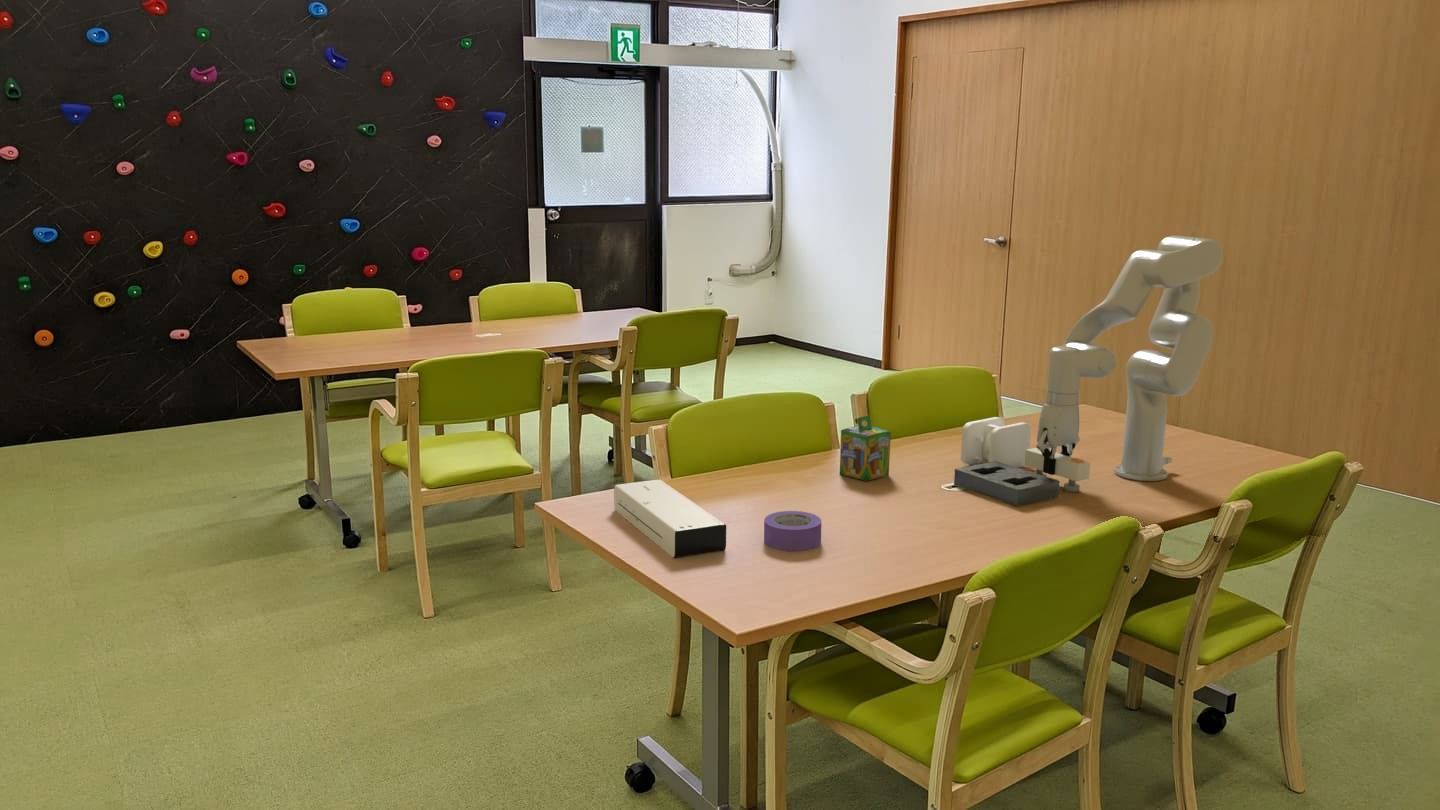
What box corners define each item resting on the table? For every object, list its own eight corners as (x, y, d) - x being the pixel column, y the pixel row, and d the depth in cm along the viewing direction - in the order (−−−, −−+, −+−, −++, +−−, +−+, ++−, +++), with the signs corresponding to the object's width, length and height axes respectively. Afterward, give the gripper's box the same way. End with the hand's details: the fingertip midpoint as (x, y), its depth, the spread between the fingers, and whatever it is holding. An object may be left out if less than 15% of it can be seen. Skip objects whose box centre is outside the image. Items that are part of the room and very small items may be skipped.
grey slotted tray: (994, 476, 285) (995, 461, 284) (1058, 497, 269) (1059, 480, 268) (953, 484, 278) (954, 469, 277) (1016, 506, 261) (1018, 490, 260)
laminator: (614, 511, 256) (614, 484, 254) (665, 504, 261) (665, 478, 260) (675, 561, 226) (675, 531, 224) (731, 552, 231) (731, 523, 230)
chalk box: (866, 482, 279) (869, 423, 276) (838, 474, 285) (840, 416, 282) (890, 475, 285) (893, 417, 282) (862, 467, 292) (864, 411, 288)
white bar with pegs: (1035, 476, 286) (1038, 445, 284) (1087, 492, 273) (1090, 460, 271) (1023, 478, 284) (1025, 447, 282) (1075, 495, 271) (1078, 462, 269)
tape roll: (779, 555, 229) (779, 531, 228) (754, 537, 239) (754, 514, 238) (831, 548, 234) (832, 524, 233) (804, 530, 244) (805, 507, 243)
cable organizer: (990, 475, 286) (993, 430, 284) (958, 466, 294) (960, 422, 292) (1028, 466, 295) (1032, 422, 292) (996, 457, 303) (999, 414, 301)
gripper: (1072, 391, 281) (1066, 463, 285) (1025, 399, 272) (1020, 473, 276) (1098, 397, 275) (1091, 470, 279) (1050, 405, 266) (1044, 481, 270)
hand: (1056, 471), depth 278 cm, fingers closed on white bar with pegs, 4 cm apart
